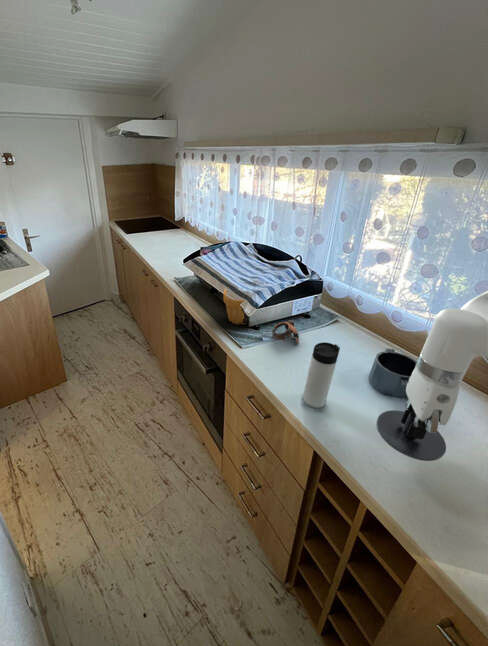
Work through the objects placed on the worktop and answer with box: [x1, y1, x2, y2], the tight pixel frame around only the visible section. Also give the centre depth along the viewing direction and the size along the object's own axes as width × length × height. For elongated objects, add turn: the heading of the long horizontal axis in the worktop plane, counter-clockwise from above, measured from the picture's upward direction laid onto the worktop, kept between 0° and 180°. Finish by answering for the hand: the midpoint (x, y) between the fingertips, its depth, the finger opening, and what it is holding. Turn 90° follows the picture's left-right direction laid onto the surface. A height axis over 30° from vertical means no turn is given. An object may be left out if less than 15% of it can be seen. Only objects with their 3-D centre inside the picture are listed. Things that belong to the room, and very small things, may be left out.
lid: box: [375, 409, 447, 462], centre depth 70 cm, size 13×13×7 cm
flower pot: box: [223, 288, 246, 325], centre depth 131 cm, size 14×14×13 cm
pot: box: [368, 347, 418, 400], centre depth 95 cm, size 12×18×8 cm
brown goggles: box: [271, 319, 300, 345], centre depth 119 cm, size 12×10×8 cm
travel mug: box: [302, 342, 341, 410], centre depth 87 cm, size 6×7×20 cm
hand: (411, 429), depth 70 cm, fingers closed on lid, 3 cm apart
